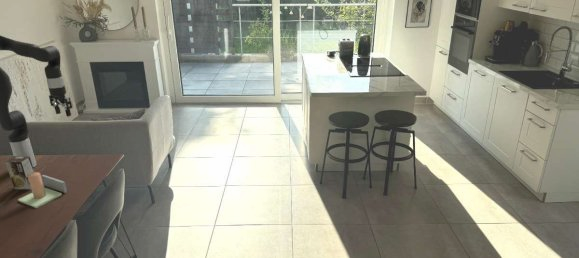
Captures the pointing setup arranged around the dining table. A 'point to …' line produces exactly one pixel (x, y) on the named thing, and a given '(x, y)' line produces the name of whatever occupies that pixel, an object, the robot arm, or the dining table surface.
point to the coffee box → (20, 171)
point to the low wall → (54, 183)
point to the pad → (37, 203)
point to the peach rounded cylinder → (36, 185)
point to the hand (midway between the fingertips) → (63, 114)
